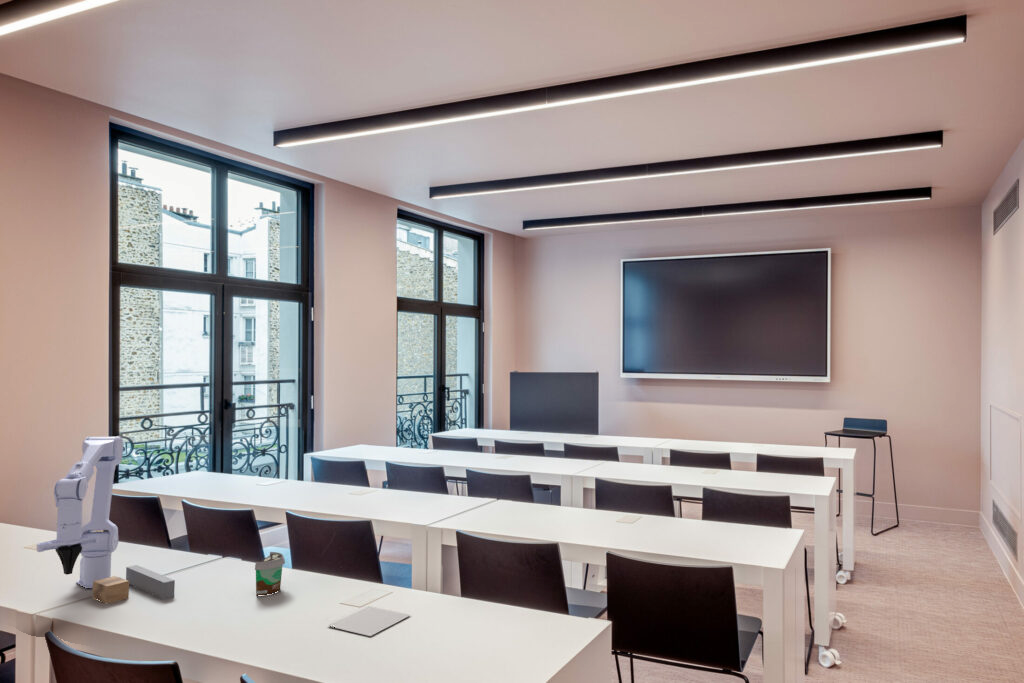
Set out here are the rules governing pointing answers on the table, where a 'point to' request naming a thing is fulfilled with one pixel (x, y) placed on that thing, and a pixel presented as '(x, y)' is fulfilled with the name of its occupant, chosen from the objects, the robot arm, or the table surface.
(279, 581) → the food container
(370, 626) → the grey flat panel
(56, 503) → the robot arm
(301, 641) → the table surface
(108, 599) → the tan block
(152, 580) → the gray rectangular bar
